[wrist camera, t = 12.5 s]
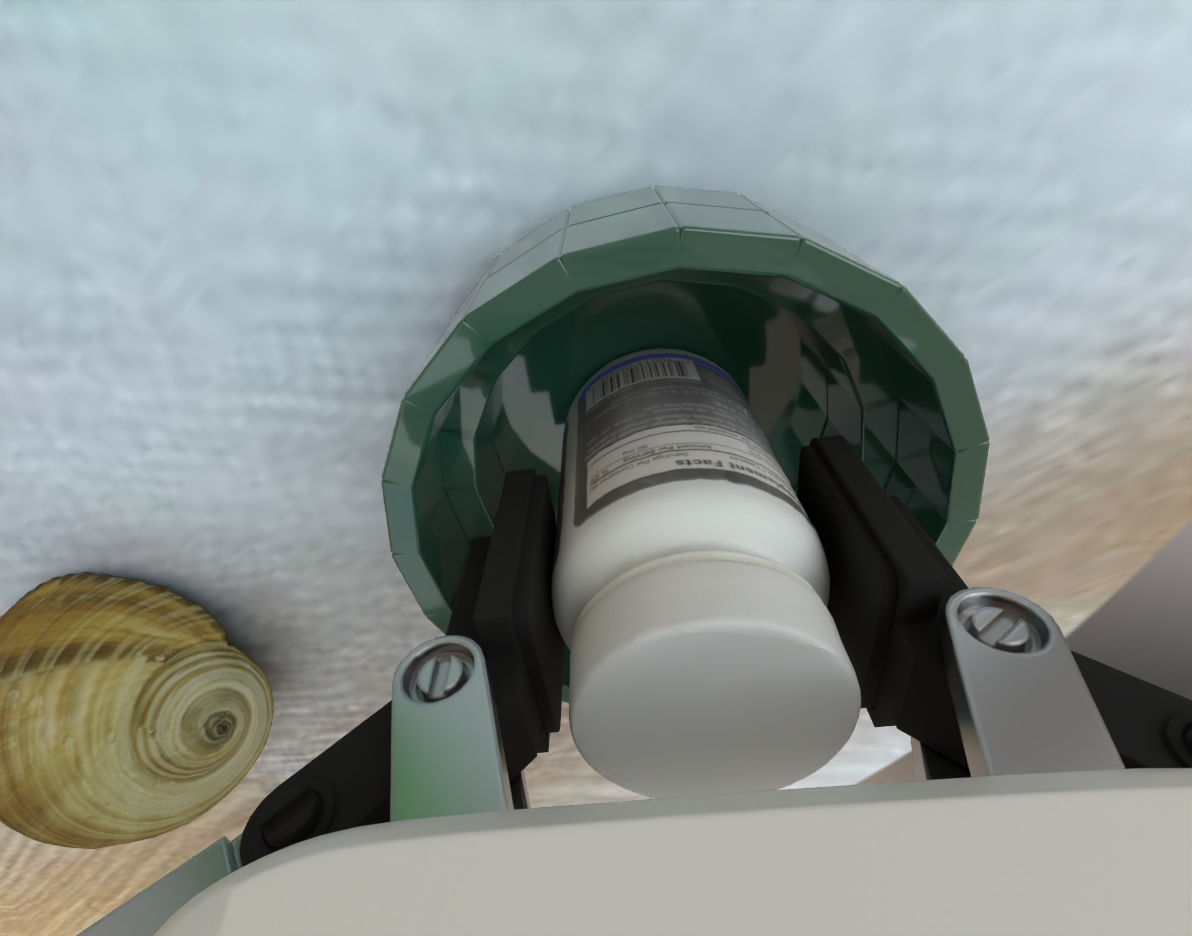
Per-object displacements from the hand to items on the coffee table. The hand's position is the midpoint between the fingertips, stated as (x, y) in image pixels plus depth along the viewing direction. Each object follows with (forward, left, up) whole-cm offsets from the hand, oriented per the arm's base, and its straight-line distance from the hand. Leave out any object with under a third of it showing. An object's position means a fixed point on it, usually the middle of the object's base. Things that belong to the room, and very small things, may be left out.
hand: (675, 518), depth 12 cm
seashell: (-12, -15, -5) cm, 20 cm away
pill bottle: (0, 0, -4) cm, 4 cm away
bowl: (0, 0, -4) cm, 4 cm away
